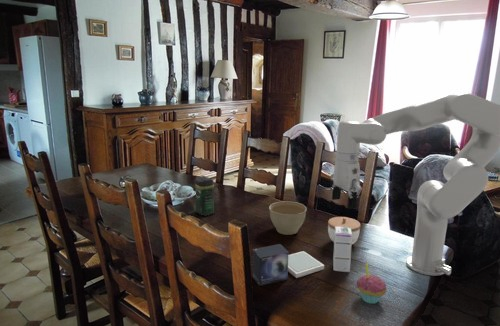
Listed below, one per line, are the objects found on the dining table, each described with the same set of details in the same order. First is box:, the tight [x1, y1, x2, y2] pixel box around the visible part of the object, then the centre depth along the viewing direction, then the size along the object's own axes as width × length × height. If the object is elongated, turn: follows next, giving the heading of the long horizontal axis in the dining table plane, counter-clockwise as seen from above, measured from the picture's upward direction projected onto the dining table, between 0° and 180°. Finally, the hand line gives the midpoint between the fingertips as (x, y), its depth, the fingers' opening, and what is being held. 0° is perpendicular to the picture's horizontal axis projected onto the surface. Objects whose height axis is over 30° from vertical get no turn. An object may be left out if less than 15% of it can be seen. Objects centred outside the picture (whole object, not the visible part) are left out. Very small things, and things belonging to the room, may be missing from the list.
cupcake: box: [356, 261, 387, 305], centre depth 105 cm, size 9×8×12 cm
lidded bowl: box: [327, 216, 361, 246], centre depth 141 cm, size 13×13×11 cm
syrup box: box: [332, 226, 352, 273], centre depth 123 cm, size 6×6×14 cm
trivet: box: [288, 250, 325, 279], centre depth 125 cm, size 12×12×2 cm
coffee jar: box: [194, 175, 215, 216], centre depth 173 cm, size 10×8×19 cm
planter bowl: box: [268, 201, 307, 236], centre depth 153 cm, size 16×16×11 cm
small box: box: [251, 243, 290, 287], centre depth 116 cm, size 11×6×10 cm, turn 114°
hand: (343, 203), depth 125 cm, fingers open, 9 cm apart
